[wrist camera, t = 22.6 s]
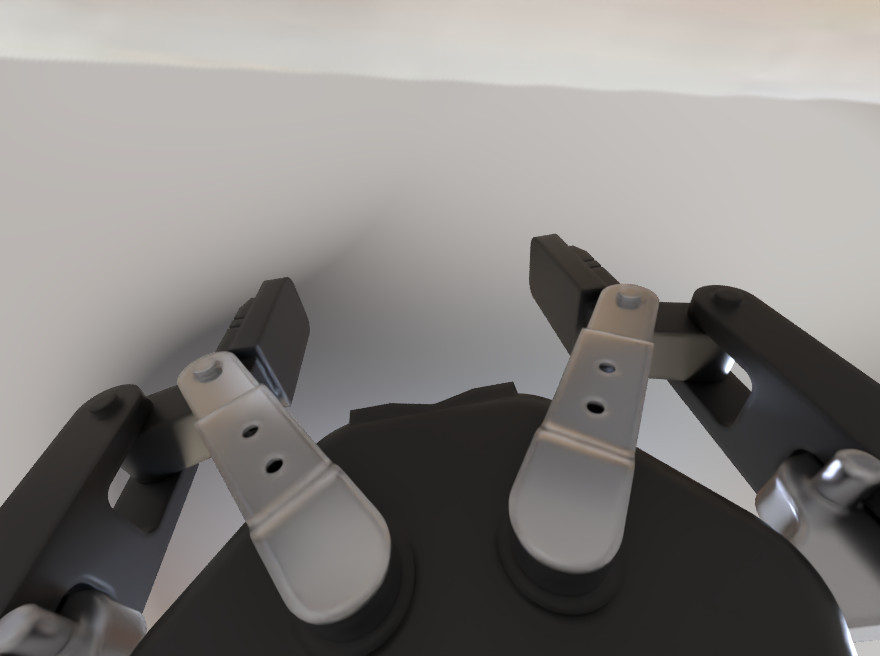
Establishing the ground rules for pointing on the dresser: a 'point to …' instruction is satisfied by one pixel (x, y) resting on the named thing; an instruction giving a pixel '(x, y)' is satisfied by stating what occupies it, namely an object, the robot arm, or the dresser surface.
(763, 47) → the dresser surface
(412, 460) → the robot arm
